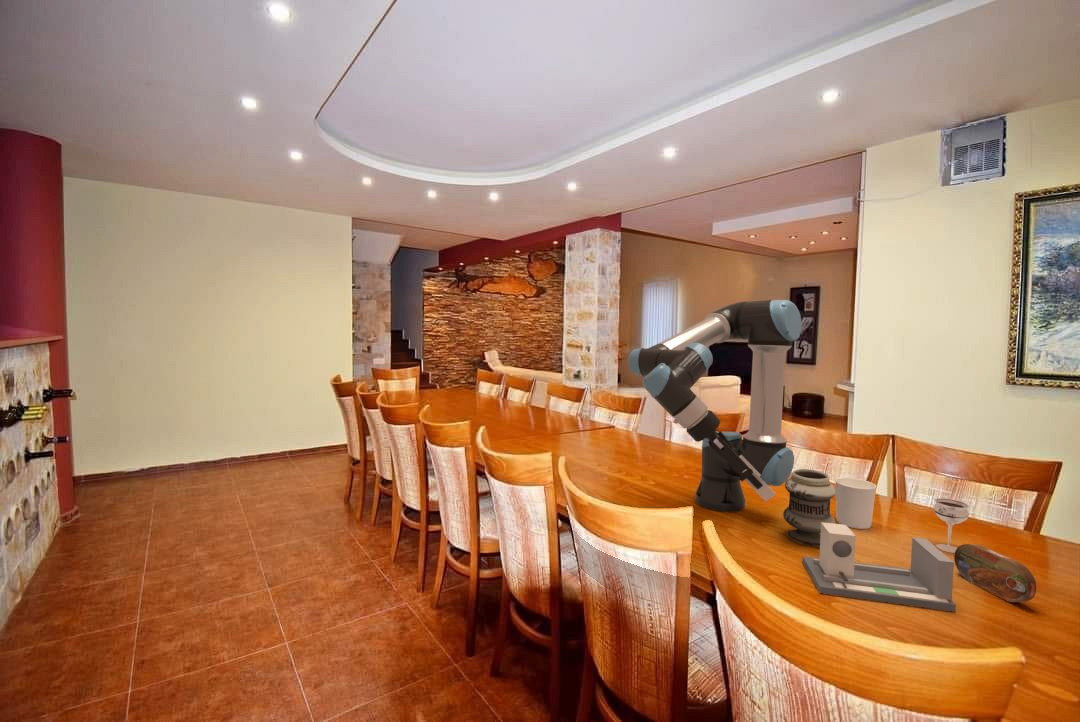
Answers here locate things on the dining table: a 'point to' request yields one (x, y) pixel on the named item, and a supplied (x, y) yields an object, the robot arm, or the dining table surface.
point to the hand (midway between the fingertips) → (763, 487)
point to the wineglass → (950, 517)
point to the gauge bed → (895, 580)
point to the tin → (995, 573)
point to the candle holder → (854, 502)
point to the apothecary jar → (808, 505)
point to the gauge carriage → (837, 550)
